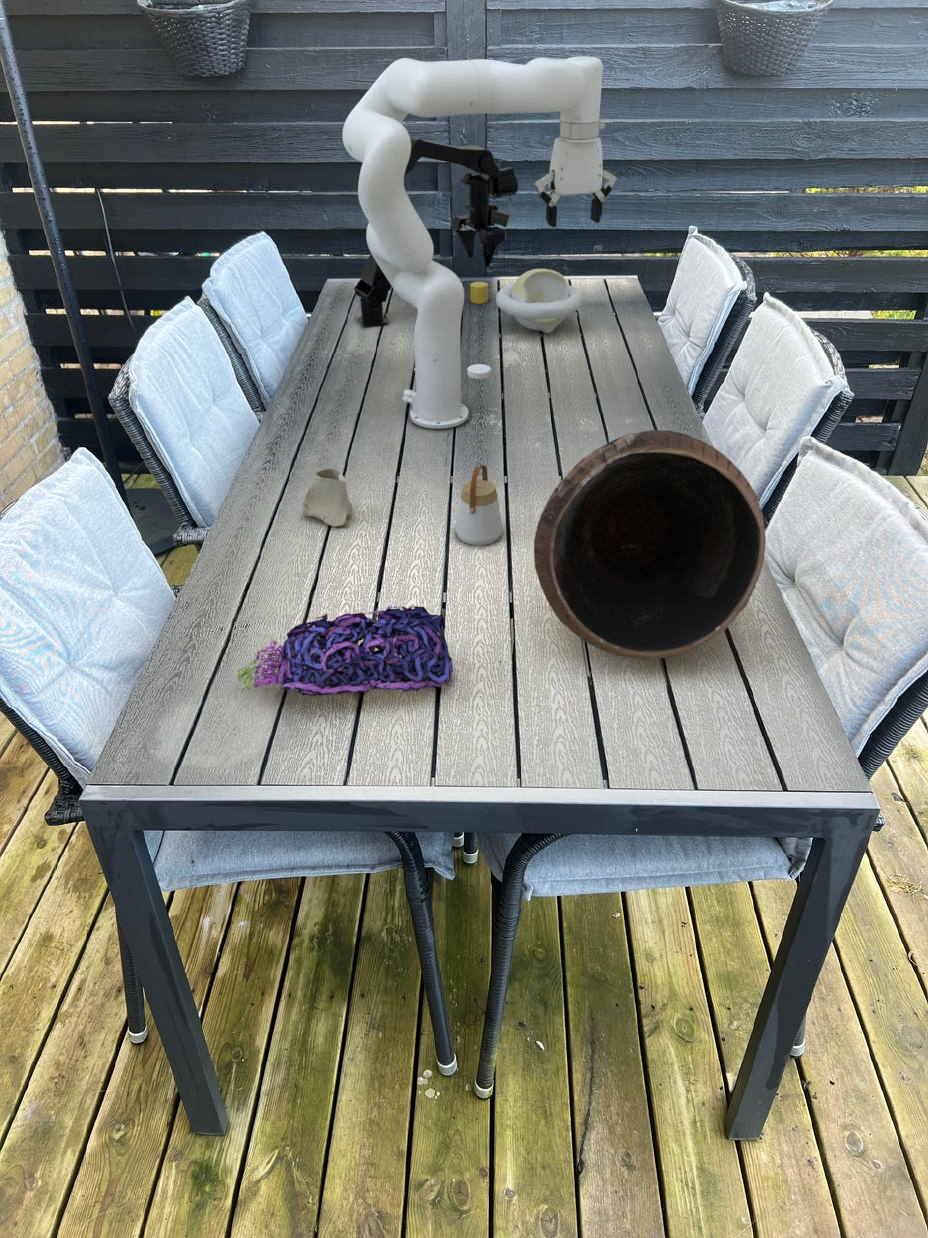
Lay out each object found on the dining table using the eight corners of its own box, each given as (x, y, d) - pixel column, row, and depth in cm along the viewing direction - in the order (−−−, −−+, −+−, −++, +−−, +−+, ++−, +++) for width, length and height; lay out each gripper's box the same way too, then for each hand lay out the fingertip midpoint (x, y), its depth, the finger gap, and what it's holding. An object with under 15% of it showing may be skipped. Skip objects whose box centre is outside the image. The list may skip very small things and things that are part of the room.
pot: (569, 390, 148) (614, 390, 119) (739, 473, 153) (822, 494, 124) (483, 572, 154) (505, 616, 125) (649, 647, 159) (708, 705, 130)
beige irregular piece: (352, 523, 169) (358, 468, 167) (345, 530, 162) (351, 474, 159) (303, 516, 169) (308, 461, 167) (294, 523, 162) (299, 466, 159)
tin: (468, 298, 260) (468, 282, 257) (485, 297, 261) (485, 280, 258) (472, 304, 256) (472, 287, 254) (489, 302, 257) (489, 286, 254)
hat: (489, 313, 250) (490, 256, 241) (569, 310, 251) (573, 252, 242) (502, 348, 230) (503, 287, 221) (589, 343, 232) (594, 283, 223)
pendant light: (493, 549, 158) (495, 382, 140) (448, 540, 161) (445, 375, 142) (508, 525, 164) (512, 362, 146) (465, 517, 167) (463, 355, 148)
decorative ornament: (458, 672, 122) (225, 684, 119) (455, 713, 130) (238, 725, 128) (450, 592, 130) (231, 602, 127) (447, 636, 138) (243, 646, 135)
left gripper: (524, 203, 239) (522, 265, 249) (487, 188, 252) (487, 248, 262) (486, 209, 235) (486, 272, 245) (451, 194, 248) (452, 254, 258)
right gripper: (611, 124, 186) (604, 215, 196) (530, 130, 182) (527, 222, 192) (627, 131, 180) (619, 224, 190) (544, 137, 176) (541, 232, 186)
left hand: (479, 261), depth 252 cm, fingers open, 9 cm apart
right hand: (573, 223), depth 191 cm, fingers open, 9 cm apart
